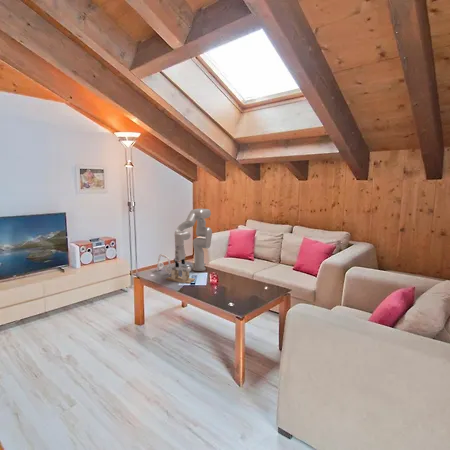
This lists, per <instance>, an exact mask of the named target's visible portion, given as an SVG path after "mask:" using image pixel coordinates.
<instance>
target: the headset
mask: <svg viewBox="0 0 450 450" xmlns="http://www.w3.org/2000/svg"><path fill="white" fill-rule="evenodd" d="M161 257H163V258H167V263H168V265H167V266H165V268H164V262H162V261H161ZM157 259H158V261H157V264H156V267H157V269H156V272H159V271H160V270H163V268H164V269H165V273H167V275H168V276H169V275H170V276H171V270H172V269H169V265H172V264H171V260H170V257H169V256H168V255H166V254H165V253H164V254H163V253H161V254H159V256H158V258H157Z"/></svg>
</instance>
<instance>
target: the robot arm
mask: <svg viewBox="0 0 450 450" xmlns="http://www.w3.org/2000/svg"><path fill="white" fill-rule="evenodd" d="M211 215H212V213H211V210H210V209H209V208H195V209H194V208H193V209H191V210H190V212H189V214H188V215H187V218H186V219H185V221H184V222H182V223H181V224H179V225H178V226H177V228H176V229H175V232H174V248H175V250H174V258H173V260H174V263H175V267H179V266H180V263H181V265H185V264H186V262H185V261H186V256H187V255H186V250H185V244H184V241H187V240H189V239H190V238H191V233H190V231H186V229H188V228H189V229H190V228H192V227H194V226H195V224H196V229H195V235H196V236H197V237H195V238H194V239H193V240H192V245H193V250H194V251H193V254H194V260H193V261H194V267H193V268H192V270H193V271H194V272H203V271H206V269H207V268H206V267H205V266H206V263H205V250H204V249H209V248H210V247H211V244H212V236H213V230H212V228H211V227H209V226H208V227H207V226H206V225H207V221H206V219H208V218H210V217H211ZM184 230H185V231H184ZM180 261H181V262H180ZM179 262H180V263H179Z"/></svg>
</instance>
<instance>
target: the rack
mask: <svg viewBox="0 0 450 450" xmlns="http://www.w3.org/2000/svg"><path fill="white" fill-rule="evenodd" d="M179 271H180V270H174V268H172V270H171V274H170V276H169V277H166V278H165V281H169V282H175V283H182V284H187V285H188V284H191V283H193V282H195V281H196V278H195V277H194V278H193V277H190V272H185V271H184V269H183V271H181V276H180V273H179ZM194 280H195V281H194Z"/></svg>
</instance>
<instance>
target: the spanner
mask: <svg viewBox="0 0 450 450" xmlns="http://www.w3.org/2000/svg"><path fill="white" fill-rule="evenodd" d="M168 265H169V264H168ZM172 268H174V270H179V271H181V272H182V271H183V269H184V271H185V272H189V273H190V272H192V267H191V266H181V265H179V267H175V265H174V264H171V265H169V269H172Z"/></svg>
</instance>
